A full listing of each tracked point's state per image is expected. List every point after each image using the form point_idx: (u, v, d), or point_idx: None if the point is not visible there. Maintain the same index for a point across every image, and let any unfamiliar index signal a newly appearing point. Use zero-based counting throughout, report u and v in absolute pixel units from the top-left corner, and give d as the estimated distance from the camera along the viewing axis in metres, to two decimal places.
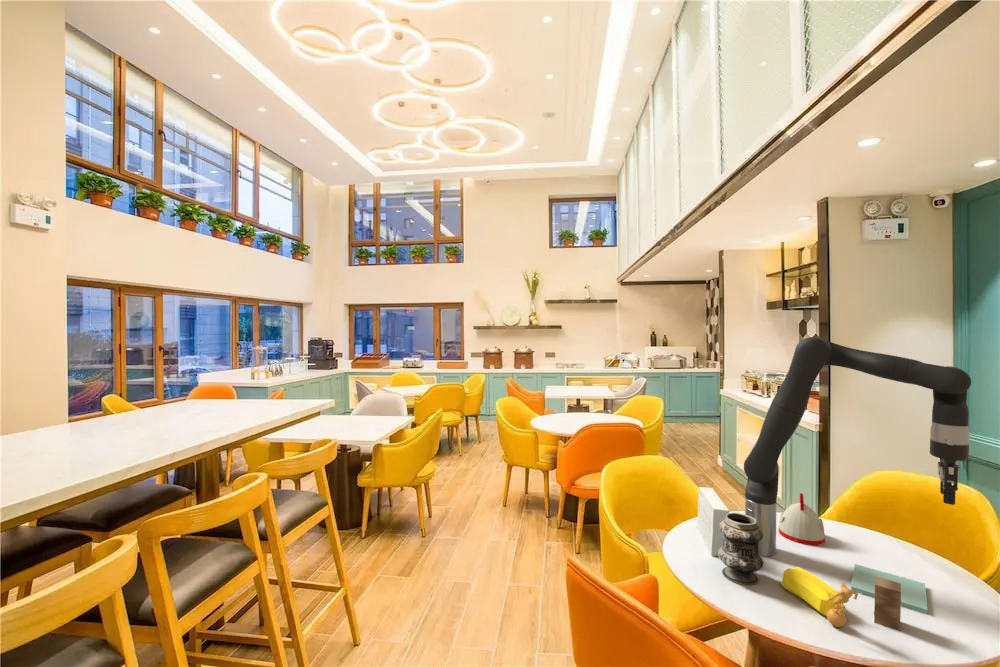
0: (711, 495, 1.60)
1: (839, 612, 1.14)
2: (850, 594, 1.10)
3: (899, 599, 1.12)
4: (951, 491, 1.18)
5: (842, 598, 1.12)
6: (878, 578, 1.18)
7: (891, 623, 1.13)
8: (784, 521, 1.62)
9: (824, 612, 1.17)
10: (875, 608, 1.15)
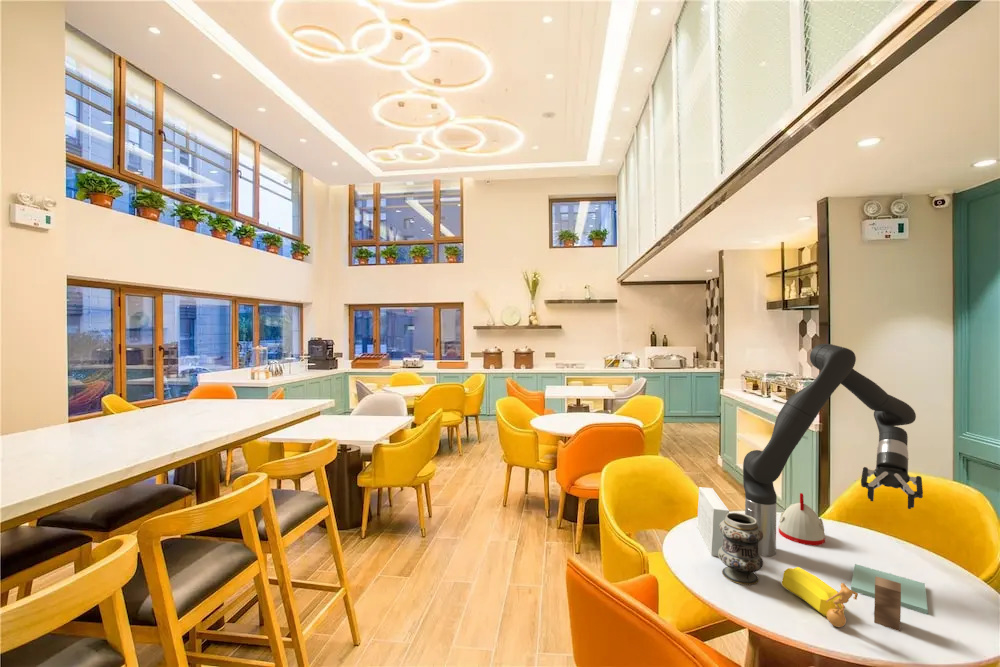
0: (711, 495, 1.60)
1: (839, 612, 1.14)
2: (850, 594, 1.10)
3: (899, 599, 1.12)
4: (914, 497, 1.33)
5: (842, 598, 1.12)
6: (878, 578, 1.18)
7: (891, 623, 1.13)
8: (784, 521, 1.62)
9: (824, 612, 1.17)
10: (875, 608, 1.15)
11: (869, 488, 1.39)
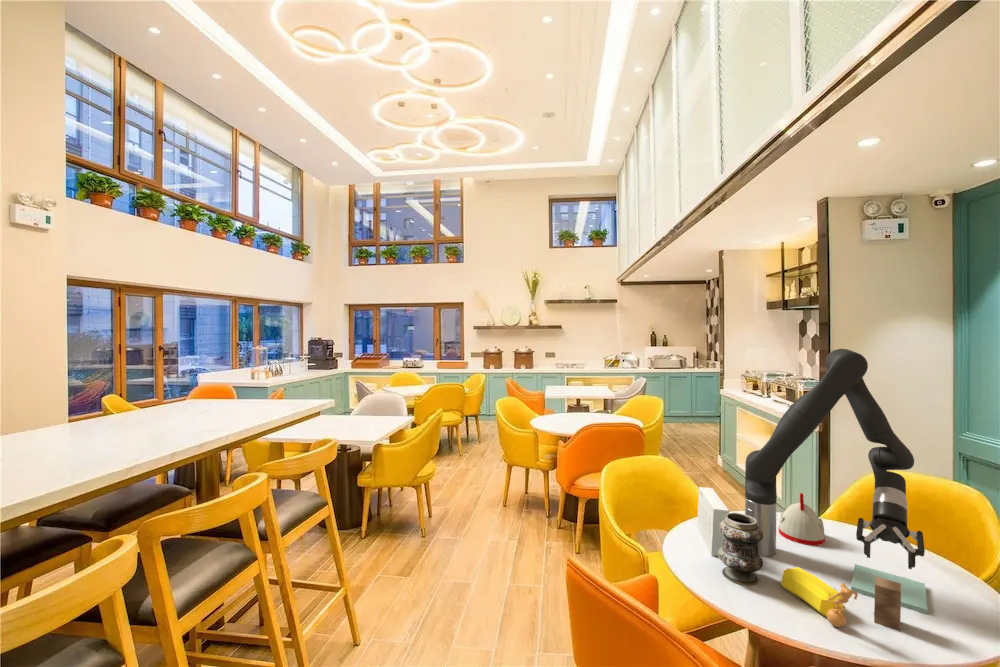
0: (711, 495, 1.60)
1: (839, 612, 1.14)
2: (850, 594, 1.10)
3: (899, 599, 1.12)
4: (915, 556, 1.20)
5: (842, 598, 1.12)
6: (878, 578, 1.18)
7: (891, 623, 1.13)
8: (784, 521, 1.62)
9: (824, 612, 1.17)
10: (875, 608, 1.15)
11: (865, 543, 1.26)
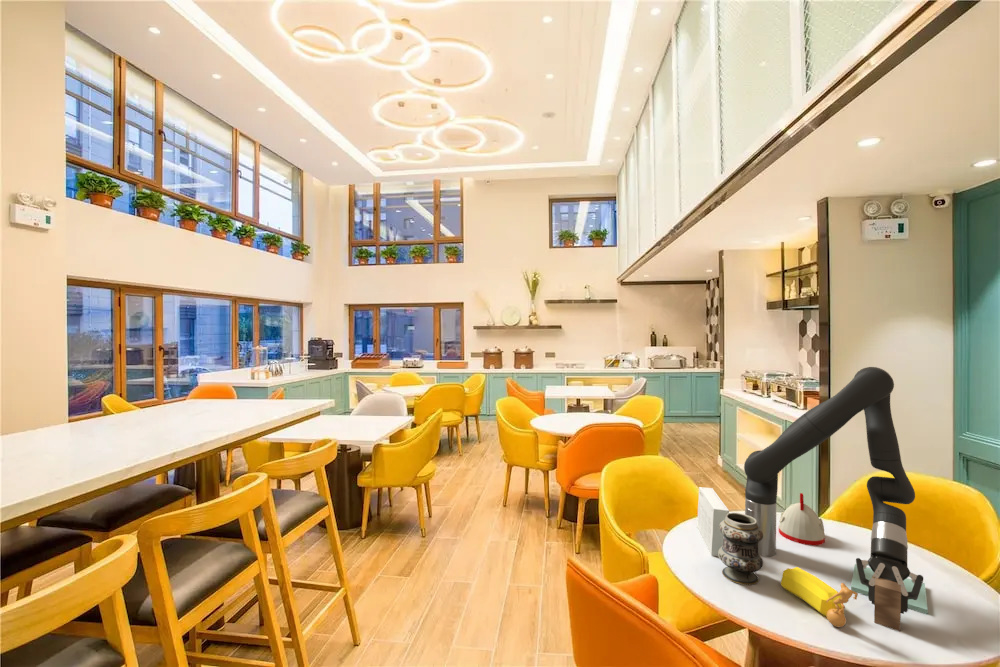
0: (711, 495, 1.60)
1: (839, 612, 1.14)
2: (850, 594, 1.10)
3: (899, 599, 1.12)
4: (908, 599, 1.14)
5: (842, 598, 1.12)
6: None
7: (891, 623, 1.13)
8: (784, 521, 1.62)
9: (825, 612, 1.17)
10: (875, 608, 1.15)
11: (870, 588, 1.18)
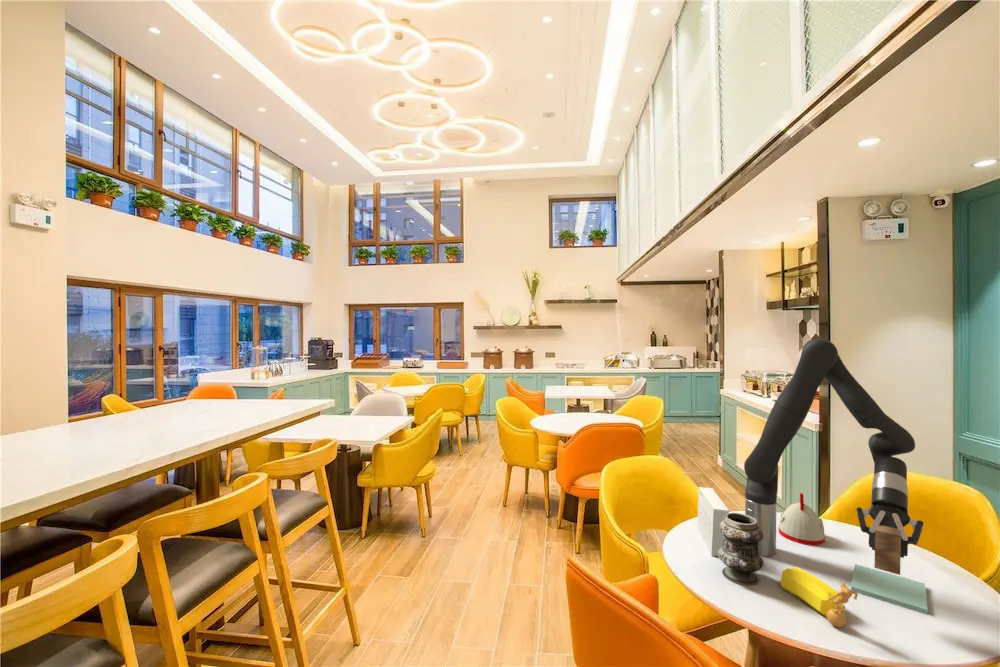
0: (711, 495, 1.60)
1: (839, 612, 1.14)
2: (850, 594, 1.10)
3: (899, 543, 1.13)
4: None
5: (842, 598, 1.12)
6: None
7: (891, 567, 1.15)
8: (784, 521, 1.62)
9: (825, 612, 1.17)
10: (875, 553, 1.17)
11: (870, 534, 1.19)
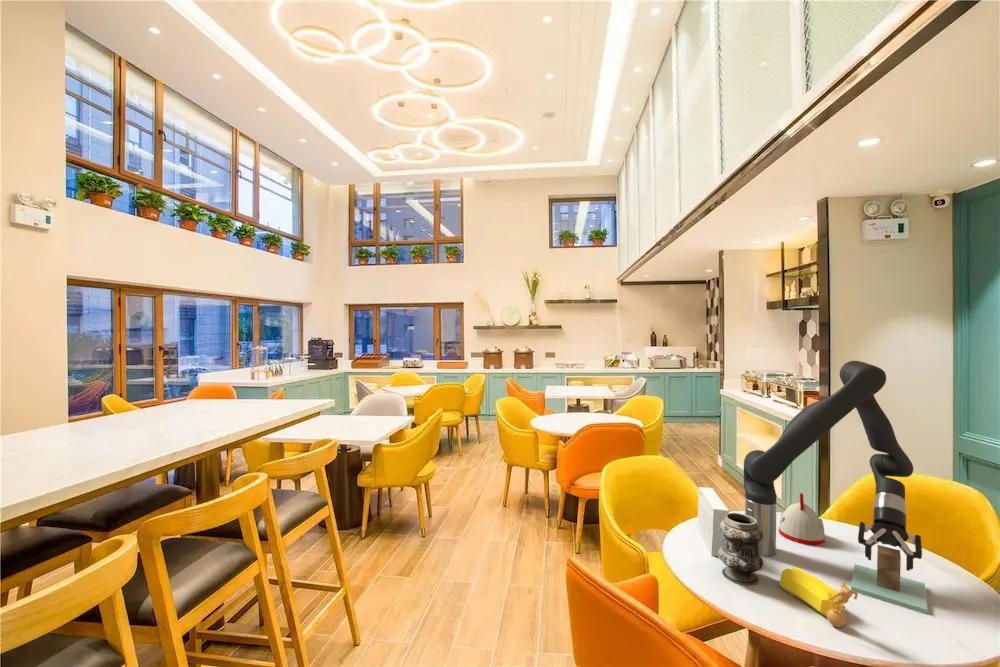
0: (711, 495, 1.60)
1: (839, 612, 1.14)
2: (850, 594, 1.10)
3: (899, 563, 1.26)
4: (913, 558, 1.27)
5: (842, 598, 1.12)
6: (880, 546, 1.32)
7: (892, 585, 1.27)
8: (784, 521, 1.62)
9: (825, 612, 1.17)
10: (877, 572, 1.29)
11: (866, 546, 1.33)
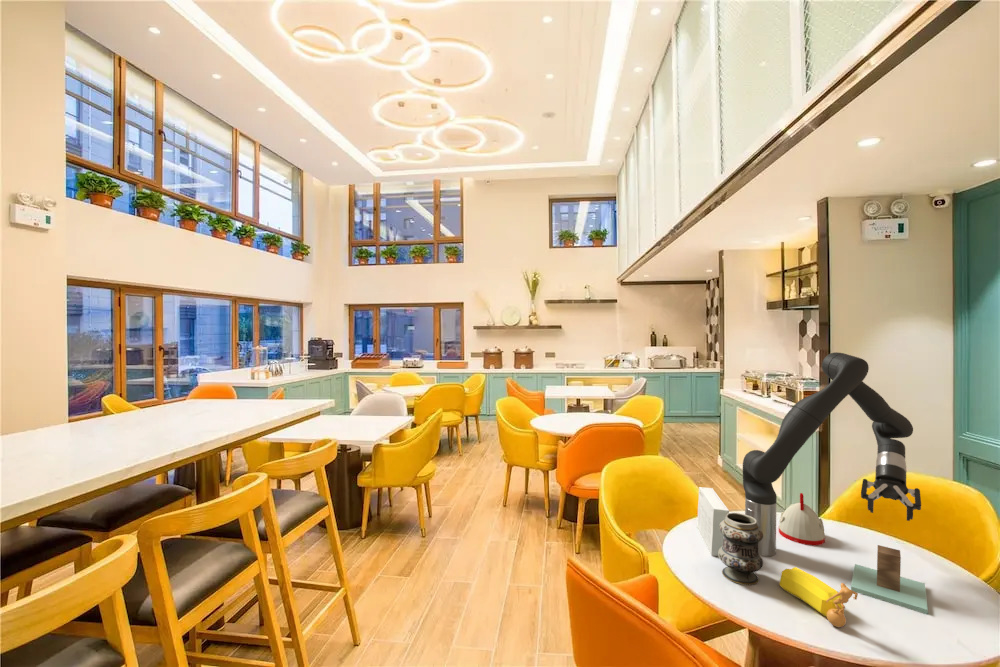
0: (711, 495, 1.60)
1: (839, 612, 1.14)
2: (850, 594, 1.10)
3: (899, 563, 1.26)
4: (913, 509, 1.37)
5: (842, 598, 1.12)
6: (880, 546, 1.32)
7: (892, 585, 1.27)
8: (784, 521, 1.62)
9: (825, 612, 1.17)
10: (877, 572, 1.29)
11: (869, 500, 1.43)
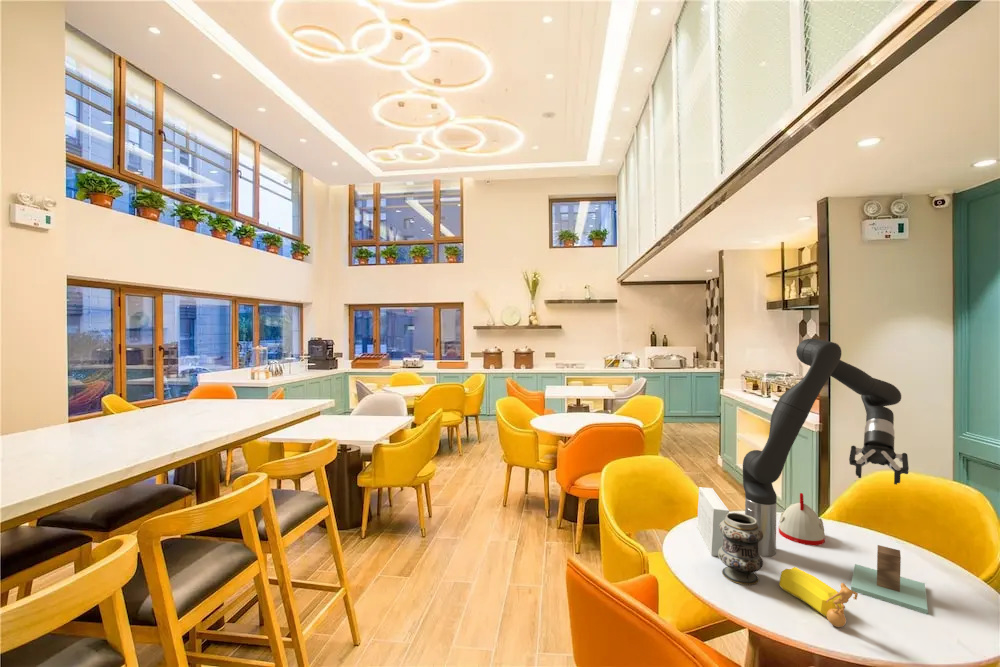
0: (711, 495, 1.60)
1: (839, 612, 1.14)
2: (850, 594, 1.10)
3: (899, 563, 1.26)
4: (900, 473, 1.37)
5: (842, 598, 1.12)
6: (880, 546, 1.32)
7: (892, 585, 1.27)
8: (784, 521, 1.62)
9: (825, 613, 1.17)
10: (877, 572, 1.29)
11: (857, 465, 1.43)
